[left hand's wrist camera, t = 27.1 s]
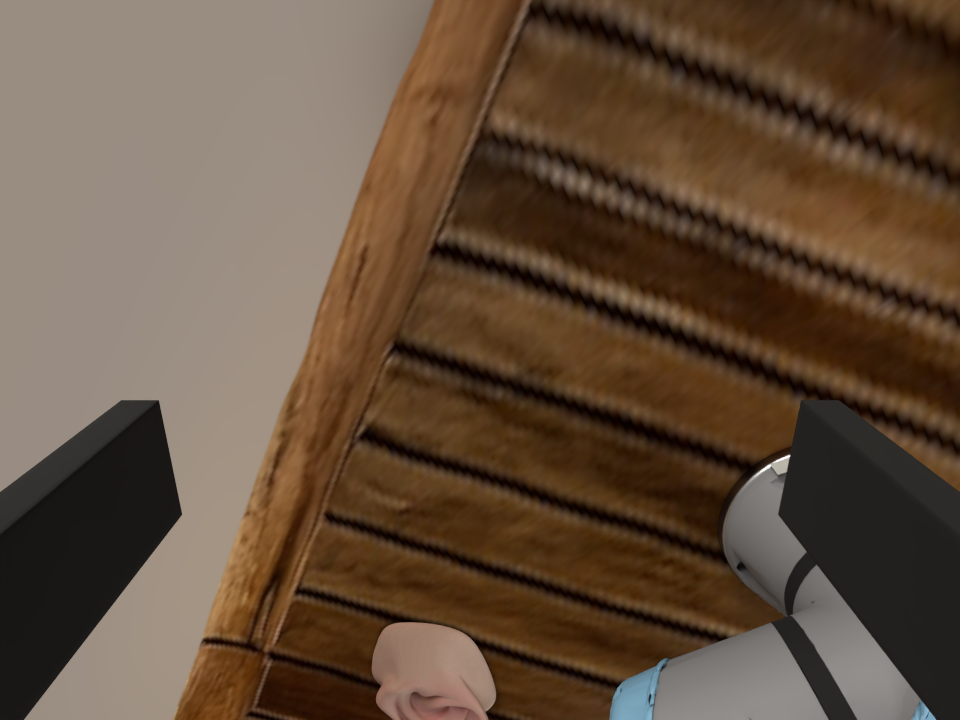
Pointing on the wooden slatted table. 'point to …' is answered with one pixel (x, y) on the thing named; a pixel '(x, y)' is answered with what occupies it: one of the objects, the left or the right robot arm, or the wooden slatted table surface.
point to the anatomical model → (431, 674)
